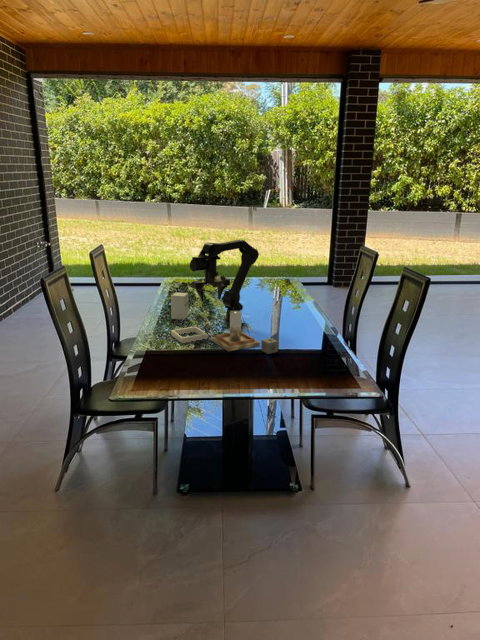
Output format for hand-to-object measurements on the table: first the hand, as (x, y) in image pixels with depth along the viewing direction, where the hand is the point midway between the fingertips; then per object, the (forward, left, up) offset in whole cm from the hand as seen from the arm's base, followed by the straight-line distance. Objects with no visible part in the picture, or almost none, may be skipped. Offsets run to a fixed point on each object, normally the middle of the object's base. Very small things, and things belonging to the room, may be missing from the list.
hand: (210, 300), depth 250 cm
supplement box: (+8, -20, -13) cm, 25 cm away
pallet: (+2, +28, -13) cm, 31 cm away
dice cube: (-6, +44, -13) cm, 46 cm away
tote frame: (+17, +11, -13) cm, 24 cm away
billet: (+2, +28, -12) cm, 30 cm away
